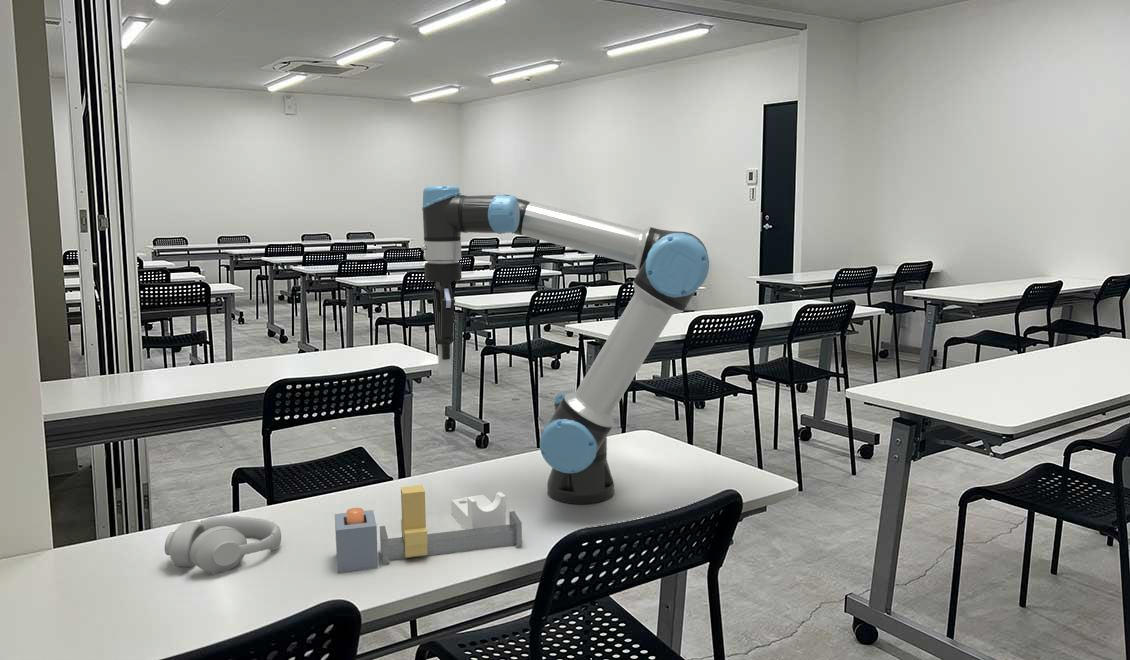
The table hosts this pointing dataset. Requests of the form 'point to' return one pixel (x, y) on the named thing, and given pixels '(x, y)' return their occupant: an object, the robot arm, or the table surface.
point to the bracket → (479, 511)
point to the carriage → (414, 520)
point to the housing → (356, 543)
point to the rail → (457, 540)
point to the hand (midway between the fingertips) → (445, 373)
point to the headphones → (220, 541)
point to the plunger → (355, 516)
